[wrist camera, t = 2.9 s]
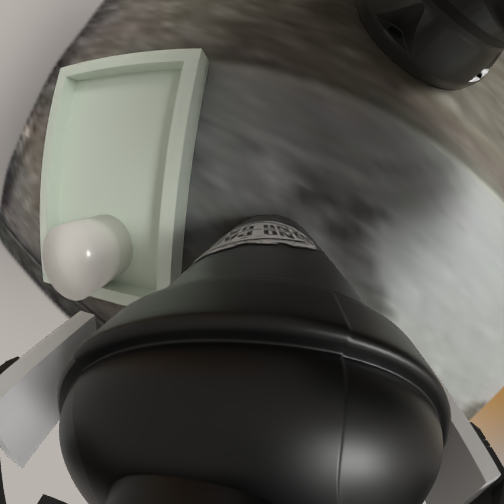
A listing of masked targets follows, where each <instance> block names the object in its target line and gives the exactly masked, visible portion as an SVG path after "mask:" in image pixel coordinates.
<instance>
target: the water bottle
mask: <svg viewBox="0 0 504 504" xmlns="http://www.w3.org/2000/svg"><path fill="white" fill-rule="evenodd" d="M212 246H213V245H212ZM195 261H196V262H195ZM195 261H194V262H195V263H193V264H192V265H191V264H190V265H189V266H188V267H187V268H186V269H185V270H184V271H183V273H182V274H181V275H180V276H179V277H178V278H177V279H176V280H174V281H173V282H172V283H171V284H170V285H169V286H168V287H167V288H165V289H162V290H159V291H156V292H153V293H151V294H149V295H146V296H144V297H142V298H140V299H138V300H136V301H134V302H133V303H131V304H129V305H128V306H126V307H125V308H123V309H122V310H120V311H119V312H118V313H116V314H115V315H114V316H113V317H112V318H110V319H109V320H108V321H107V322H106V323H105V324H104V325H103V326H102V327H100V328H99V329H98V330H97V331H96V332H95V333H94V334H93V335H92V336H91V337H90V338H89V339H87V340H86V341H85V342H84V343H83V344H82V345H81V346H80V347H79V348H78V349H77V350H76V352H75V353H74V355H73V357H72V359H71V360H70V362H69V363H68V365H67V366H66V368H65V370H64V372H63V374H62V376H61V379H60V382H59V386H58V394H57V402H58V410H59V415H60V423H59V438H60V446H61V450H62V455H63V458H64V461H65V464H66V466H67V469H68V471H69V474H70V475H71V478H72V480H73V481H74V483H75V485H76V487H77V488H78V490H79V491H80V493H81V494H82V496H83V497H84V498H85V500H86V501H87V502H88V503H89V504H422V503H423V502H424V500H425V499H426V498H427V496H428V494H429V493H430V491H431V489H432V487H433V485H434V483H435V481H436V478H437V476H438V473H439V470H440V466H441V462H442V455H443V449H444V447H445V445H446V442H447V440H448V436H449V433H450V428H451V409H450V404H449V401H448V398H447V395H446V393H445V390H444V388H443V386H442V384H441V382H440V381H439V379H438V378H437V376H436V375H435V373H434V372H433V370H432V369H431V368H430V366H429V365H428V364H427V362H426V361H425V359H424V358H423V357H422V355H421V354H420V353H419V351H418V350H417V348H416V347H415V346H414V344H413V343H412V342H411V341H410V339H409V338H408V337H407V336H406V335H405V334H404V333H403V332H402V331H401V330H400V329H399V328H398V327H397V326H396V325H395V324H394V323H392V322H391V321H390V320H389V319H387V318H386V317H384V316H383V315H381V314H380V313H378V312H376V311H375V310H373V309H371V308H370V307H368V306H366V304H365V303H364V302H363V300H362V299H361V298H360V297H359V295H358V294H357V293H356V292H355V290H354V289H353V288H352V286H351V285H350V284H349V283H348V281H347V280H346V279H345V278H344V277H343V275H342V274H341V273H340V272H339V270H338V269H337V268H336V267H335V265H334V264H333V263H332V262H331V261H330V259H329V258H328V257H327V256H326V255H325V253H324V252H323V251H322V250H321V249H320V247H319V246H318V245H317V244H316V243H315V241H314V240H313V239H312V238H311V237H310V236H309V234H308V233H307V232H306V231H305V230H304V229H303V228H302V227H301V226H300V225H298V224H297V223H295V222H294V221H292V220H290V219H288V218H285V217H282V216H277V215H259V216H255V217H251V218H249V219H246V220H244V221H243V222H241V223H239V224H238V225H237V226H236V227H234V228H233V229H232V230H231V231H230V232H229V233H227V234H226V235H224V237H222V239H221V240H218V241H217V243H215V244H214V246H213V247H210V248H209V250H208V251H205V252H204V253H203V254H202V255H201V256H200V257H198V258H197V259H196V260H195ZM38 504H67V503H65V502H62V501H60V500H57V499H55V498H53V497H50V496H47V495H44V494H43V496H42V497H41V499H40V500H39V502H38Z"/></svg>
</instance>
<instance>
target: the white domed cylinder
mask: <svg viewBox="0 0 504 504" xmlns="http://www.w3.org/2000/svg"><path fill="white" fill-rule="evenodd" d="M132 254H133V246H132V240H131V237H130V234H129V232H128V230H127V228H126V227H125V226H124V224H123V223H122V222H121V221H120V220H119V219H117V218H116V217H114V216H111V215H108V214H100V215H96V216H92V217H88V218H84V219H80V220H76V221H73V222H69V223H65V224H61V225H58V226H55V227H54V228H52V229H51V230H50V231H49V232H48V234H47V235H46V237H45V240H44V243H43V248H42V259H43V265H44V269H45V272H46V275H47V277H48V279H49V281H50V283H51V284H52V286H53V287H54V288H55V289H56V291H57V292H59V293H60V294H61V295H62V296H64V297H65V298H67V299H70V300H74V301H79V300H83V299H85V298H86V297H88V296H89V295H91V294H92V293H94V292H95V291H97V290H98V289H100V288H101V287H103V286H104V285H106V284H107V283H109V282H110V281H112V280H113V279H115V278H116V277H118V276H119V275H121V274H122V273H123V272H125V270H126V269H127V268H128V267H129V265H130V263H131V260H132Z"/></svg>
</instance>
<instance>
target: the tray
mask: <svg viewBox="0 0 504 504" xmlns="http://www.w3.org/2000/svg"><path fill="white" fill-rule="evenodd" d="M209 64H210V62H209V60H208V58H207V57H206V55H205V53H204V51H203V50H202V48H195V49H171V50H157V51H147V52H138V53H130V54H123V55H117V56H111V57H106V58H100V59H95V60H91V61H86V62H82V63H78V64H74V65H70V66H66V67H62V68H61V69H60V73H59V76H58V80H57V84H56V88H55V92H54V96H53V100H52V105H51V110H50V115H49V120H48V126H47V132H46V138H45V146H44V154H43V163H42V175H41V191H40V243H41V259H42V248H43V243H44V240H45V237H46V235H47V234H48V232H49V231H50V230H51V229H52V228H54V227H55V226H58V225H61V224H65V223H69V222H73V221H76V220H80V219H84V218H88V217H92V216H96V215H100V214H108V215H111V216H114V217H116V218H117V219H119V220H120V221H121V222H122V223H123V224H124V226H125V227H126V228H127V230H128V232H129V234H130V237H131V240H132V246H133V254H132V260H131V263H130V265H129V267H128V268H127V269H126V270H125V272H123V273H122V274H121V275H119V276H118V277H116V278H115V279H113V280H112V281H110V282H109V283H107V284H106V285H104V286H103V287H101V288H100V289H98V290H97V291H95V292H94V293H92V294H91V295H89V296H91V297H95V298H98V299H102V300H105V301H109V302H112V303H116V304H120V305H124V306H128V305H129V304H131V303H133V302H134V301H136V300H138V299H140V298H142V297H144V296H146V295H149V294H151V293H153V292H156V291H159V290H162V289H165V288H167V287H168V286H169V285H170V284H171V283H172V282H173V281H174V280H176V279H177V278H178V277H179V276H180V275H181V271H182V257H183V244H184V233H185V222H186V212H187V203H188V194H189V186H190V177H191V170H192V162H193V155H194V148H195V141H196V135H197V129H198V122H199V117H200V111H201V105H202V99H203V94H204V89H205V84H206V79H207V74H208V69H209ZM42 271H43V280H44V282H46V283H49V284H51V283H50V281H49V279H48V277H47V275H46V272H45V269H44V265H43V259H42Z"/></svg>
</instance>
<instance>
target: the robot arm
mask: <svg viewBox="0 0 504 504" xmlns="http://www.w3.org/2000/svg"><path fill="white" fill-rule="evenodd" d="M357 8H358V12H359V15H360V18H361V20H362V22H363V24H364V26H365V28H366V30H367V31H368V33H369V34H370V36H371V37H372V38H373V40H374V41H375V42H376V43H377V45H378V46H379V47H380V48H381V49H382V50H383V51H384V52H385V53H386V54H387V55H388V56H389V57H390V58H391V59H392V60H393V61H394V62H396V63H397V64H398V65H399V66H400V67H402V68H403V69H404V70H406V71H407V72H409V73H410V74H412V75H413V76H415V77H417V78H418V79H420V80H422V81H424V82H426V83H428V84H431V85H433V86H436V87H439V88H443V89H449V90H457V89H463V88H465V87H468V86H470V85H473V84H475V83H477V82H478V81H480V80H481V79H482V78H483V77H484V76H485V75H486V74H487V72H488V70H489V68H490V67H491V66H492V65H493V64H494V63H495V61H496V60H497V58H498V57H499V56H500V54H501V53H502V51H503V50H504V0H357ZM96 331H97V329H96V321H95V315H93V314H90V313H87V312H84V311H79V312H78V313H77V314H75V315H74V316H73V317H71V318H70V319H69V320H67V321H66V322H65V323H64V324H62V325H61V326H60V327H58V328H57V329H56V330H55V331H53V332H52V333H51V334H49V335H48V336H47V337H45V338H44V339H43V340H42V341H40V342H39V343H38V344H37V345H35V347H33V348H32V349H30V350H29V351H28V352H27V353H26V354H24V355H23V356H22V357H21V358H19V357H15V358H13V359H11V360H8V361H6V362H5V363H4V364H2V365H1V366H0V447H1V448H2V450H3V451H4V452H5V454H6V455H7V456H8V457H9V458H10V459H11V460H13V461H14V462H15V463H16V464H18V465H19V466H20V467H22V468H23V467H24V465H25V464H26V463H27V461H28V460H29V459H30V457H31V456H32V455H33V453H34V452H35V451H36V449H37V448H38V447H39V445H40V444H41V443H42V442H43V440H44V439H45V438H46V436H47V435H48V434H49V432H50V431H51V430H52V429H53V427H54V426H55V425H56V424H57V422H58V421H59V420H60V415H59V410H58V402H57V394H58V386H59V382H60V379H61V376H62V374H63V372H64V370H65V368H66V366H67V365H68V363H69V362H70V360H71V359H72V357H73V355H74V353H75V352H76V350H77V349H78V348H79V347H80V346H81V345H82V344H83V343H84V342H85V341H86V340H87V339H89V338H90V337H91V336H92V335H93V334H94V333H95V332H96ZM427 364H428V363H427ZM428 365H429V364H428ZM430 368H431V367H430ZM431 369H432V368H431ZM433 372H434V371H433ZM434 373H435V372H434ZM435 375H436V374H435ZM436 376H437V375H436ZM437 378H438V376H437ZM438 379H439V378H438ZM439 381H440V382H441V380H440V379H439ZM441 384H442V386H443V388H444V390H445V393H446V395H447V398H448V401H449V404H450V409H451V428H450V433H449V436H448V440H447V442H446V445H445V447H444V449H443V455H442V462H441V466H440V470H439V473H438V476H437V478H436V481H435V483H434V485H433V487H432V489H431V491H430V493H429V494H428V496H427V498H426V499H425V501H426V504H504V467H503V466H502V464H501V462H500V461H499V459H498V457H497V455H496V454H495V452H494V451H493V449H492V447H491V448H490V444H489V443H488V441H487V440H485V439H486V438H485V436H484V435H483V433H482V432H481V430H480V429H479V428H478V427H476V426H475V425H474V424H473V423H472V422H469V421H468V419H467V418H466V416H465V415H464V413H463V412H462V410H461V409H460V407H459V406H458V405H457V403H456V402H455V400H454V399H453V397H452V396H451V394H450V393H449V392H448V390H447V389H446V387H445V386H444V385H443V383H442V382H441ZM0 504H6V501H5V495H4V489H3V482H2V473H1V463H0Z"/></svg>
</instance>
